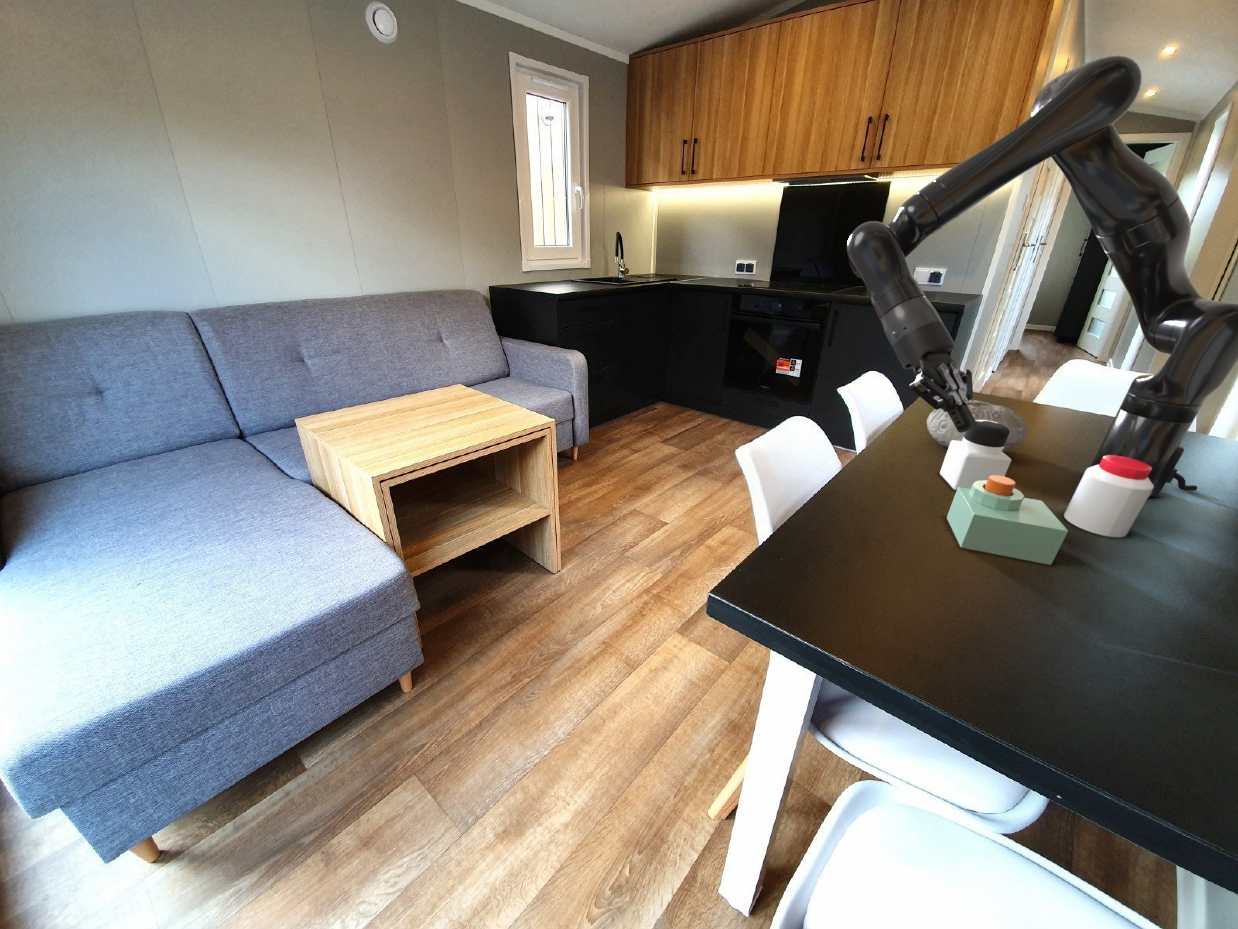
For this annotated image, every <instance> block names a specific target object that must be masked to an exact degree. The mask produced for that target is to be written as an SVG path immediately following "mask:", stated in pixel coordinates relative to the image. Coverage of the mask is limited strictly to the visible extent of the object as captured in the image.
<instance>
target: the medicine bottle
mask: <svg viewBox="0 0 1238 929" xmlns="http://www.w3.org/2000/svg"><path fill="white" fill-rule="evenodd" d="M975 421H976V422H977V427H976V428H974V429H972V430H969V431H966V432H965V435H964V437H963V440H962V441H955V440H952V441H951V442H950V445H949V448H948V447H947V448H948V449H947V451H946V454H945V456H944V459H943V462H942V465H941V468H940V471H939V475H940V476H941V477H942V478H943V479H944V481H946V483H948V485H949V486H950V488H952V489H953V490H954V491H957V489H958V487H962V488H968V489H971V487H972V485H973V483H974V482H976V481H982V480H987V481H988V478H989V476H991V475H999V476H1004V477H1006V476H1007V473H1008V470H1009V468H1010V465H1011V463H1012V459H1011V457H1009V455H1007V454H1006V453H1005V452H1004V453H1003V452H1002V451H1001V450H1003V448H1004V445H1005V443H1006V440H1007V438H1008V435H1009V433H1010V431H1009V429H1008V428H1007V427H1006V426H1004V425H1002V424H1000V423H997V422H993V421H988V420H975Z"/></svg>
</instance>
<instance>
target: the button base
mask: <svg viewBox="0 0 1238 929" xmlns="http://www.w3.org/2000/svg"><path fill="white" fill-rule="evenodd" d="M986 483H987V480H982V481H976V482H974V483H973V485H972V487H971V489H968V488H962V487H958V489H957V490H955V491H956V492H955V495H954V496H953V500H952V502H951V505H950V507H949V510H948V513H947V516H946V520H947V521H948V523H949V526H950V527H951V530H952V532H953V534H954V537H955V538H956V540H957V542H958V545H959V547H960V548H962V549H967V550H972V551H977V552H983V553H988V554H992V555H993V554H994V555H997V556H1003V557H1008V558H1012V559H1013V558H1014V559H1018V560H1023V561H1029V562H1033V563H1038V564H1044V565H1049V566H1051V565H1052V564H1053V562H1054V560H1055V558H1056V556H1057V554H1058V552H1059V550H1060V548H1061V546H1062V544H1063V542H1064V540H1065V538H1066V536H1067V534H1068V532H1069V530H1068V528H1066V527H1065V526H1064V524H1063V523H1062V522H1061V521H1060V520H1059V519H1058V517H1056V515H1055V514H1054V513H1053V512H1052V510H1050V508H1049V507H1048V506H1047V505H1046V503H1045V502H1044V501H1042V500H1040V499H1035V498H1034V499H1033V498H1029V497H1028V498H1027V497H1025V495H1024V494H1023V492H1022V491H1020V490H1019V489H1017V488H1015V487H1014V489H1013V491H1012V493H1011V495H1010V496H1002V495H997V494H994V493H991V492H989V491H987V490H985V486H986Z"/></svg>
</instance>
